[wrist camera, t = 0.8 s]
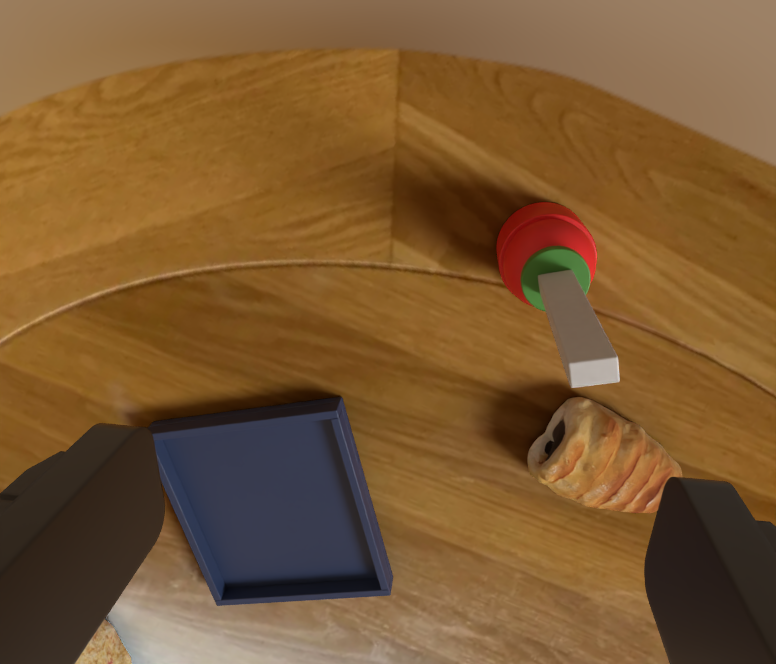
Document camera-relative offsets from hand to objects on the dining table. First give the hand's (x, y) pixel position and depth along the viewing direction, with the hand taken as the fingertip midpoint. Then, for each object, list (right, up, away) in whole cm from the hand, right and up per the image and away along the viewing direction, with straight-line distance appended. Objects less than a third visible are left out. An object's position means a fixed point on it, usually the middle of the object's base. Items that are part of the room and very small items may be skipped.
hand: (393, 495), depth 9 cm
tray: (-8, -10, +34) cm, 37 cm away
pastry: (+14, -5, +29) cm, 32 cm away
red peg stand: (+9, +7, +24) cm, 27 cm away
